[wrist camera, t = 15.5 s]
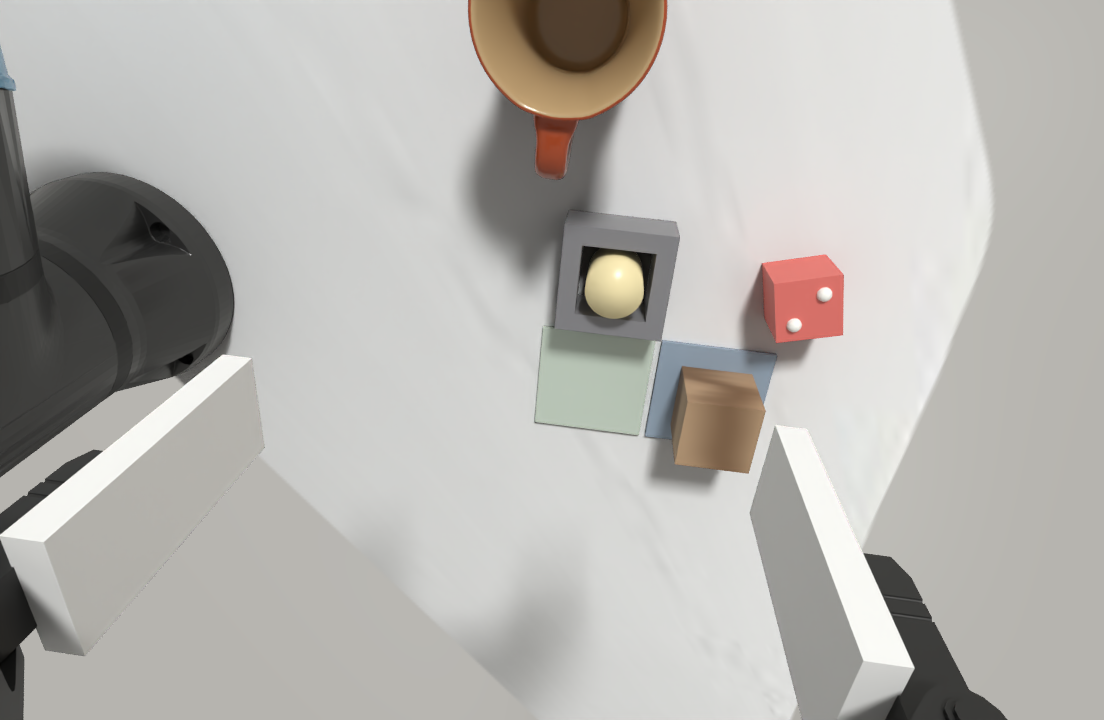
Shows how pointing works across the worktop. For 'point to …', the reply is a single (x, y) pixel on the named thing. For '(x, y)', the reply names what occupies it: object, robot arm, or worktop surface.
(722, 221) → the worktop surface
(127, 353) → the robot arm
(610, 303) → the button
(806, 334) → the die
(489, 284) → the worktop surface
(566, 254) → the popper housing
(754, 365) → the tile
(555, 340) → the tile
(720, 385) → the tan wooden cuboid
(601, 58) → the mug
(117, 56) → the worktop surface
